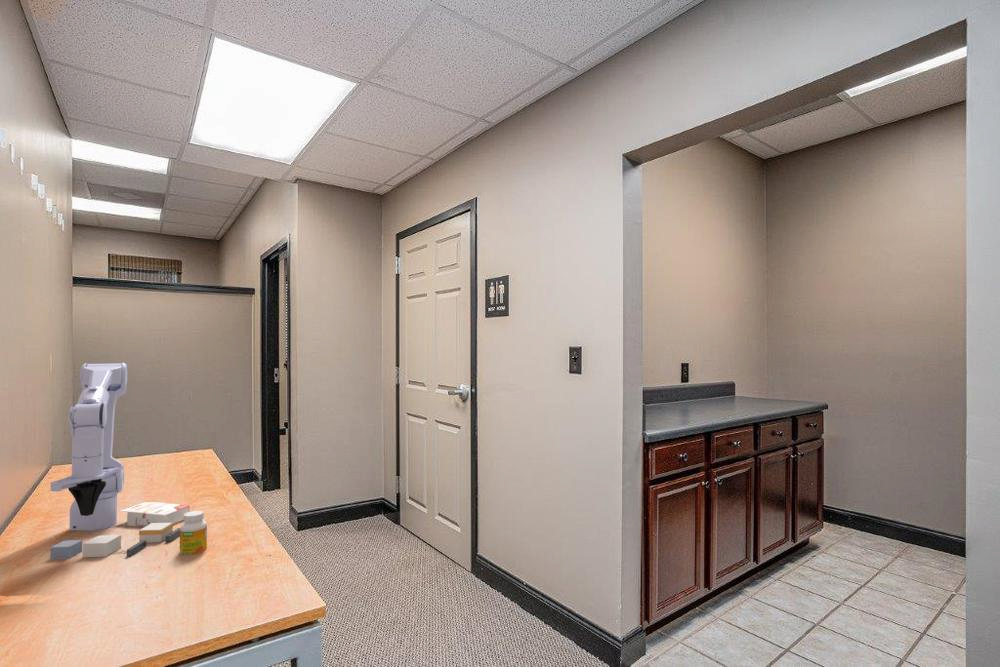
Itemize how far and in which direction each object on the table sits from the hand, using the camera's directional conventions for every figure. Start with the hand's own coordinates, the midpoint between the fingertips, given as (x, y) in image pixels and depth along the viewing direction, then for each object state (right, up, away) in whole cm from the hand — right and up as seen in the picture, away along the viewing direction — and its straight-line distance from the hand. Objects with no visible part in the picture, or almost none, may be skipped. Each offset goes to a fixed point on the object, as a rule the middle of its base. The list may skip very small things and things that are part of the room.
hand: (86, 514), depth 121 cm
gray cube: (-2, -10, -3) cm, 10 cm away
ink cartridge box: (+10, -8, +19) cm, 22 cm away
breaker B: (+5, -8, -1) cm, 9 cm away
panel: (+8, -10, +4) cm, 13 cm away
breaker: (+11, -8, +7) cm, 16 cm away
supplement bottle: (+24, -10, 0) cm, 26 cm away
